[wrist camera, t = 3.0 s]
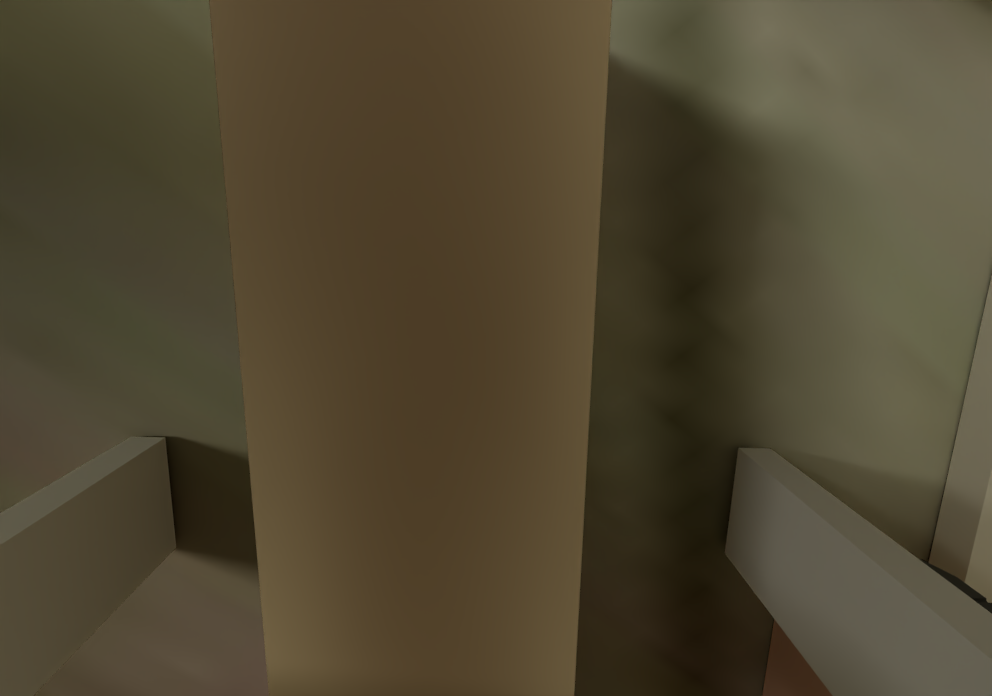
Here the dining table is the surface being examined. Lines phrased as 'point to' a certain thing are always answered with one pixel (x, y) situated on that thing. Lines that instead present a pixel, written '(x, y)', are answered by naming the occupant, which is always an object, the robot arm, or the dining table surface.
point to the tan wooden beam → (415, 331)
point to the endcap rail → (961, 523)
